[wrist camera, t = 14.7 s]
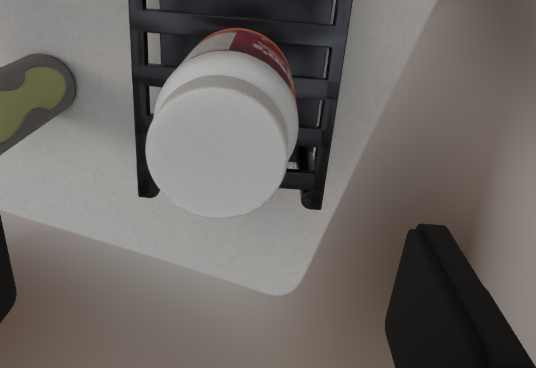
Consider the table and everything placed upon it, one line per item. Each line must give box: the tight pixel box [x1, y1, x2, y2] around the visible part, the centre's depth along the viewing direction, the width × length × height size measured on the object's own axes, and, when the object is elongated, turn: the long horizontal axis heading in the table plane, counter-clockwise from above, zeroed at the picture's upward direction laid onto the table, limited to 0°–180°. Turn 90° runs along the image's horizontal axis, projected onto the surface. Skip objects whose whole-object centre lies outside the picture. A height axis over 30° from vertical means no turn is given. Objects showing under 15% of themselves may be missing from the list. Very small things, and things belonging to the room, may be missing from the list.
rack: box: [128, 0, 353, 210], centre depth 31 cm, size 12×16×11 cm
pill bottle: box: [146, 28, 298, 219], centre depth 21 cm, size 6×6×11 cm
